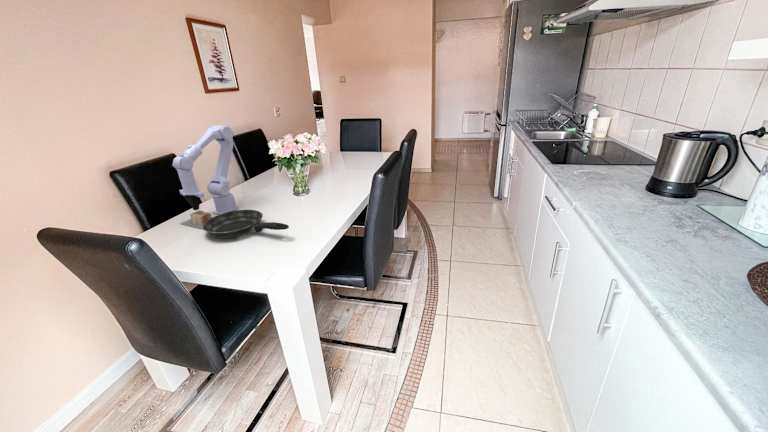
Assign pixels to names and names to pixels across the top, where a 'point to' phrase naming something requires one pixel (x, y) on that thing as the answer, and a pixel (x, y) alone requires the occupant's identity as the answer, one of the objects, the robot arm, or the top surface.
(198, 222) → the oak block
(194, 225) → the grey rubber mat
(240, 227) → the frying pan
